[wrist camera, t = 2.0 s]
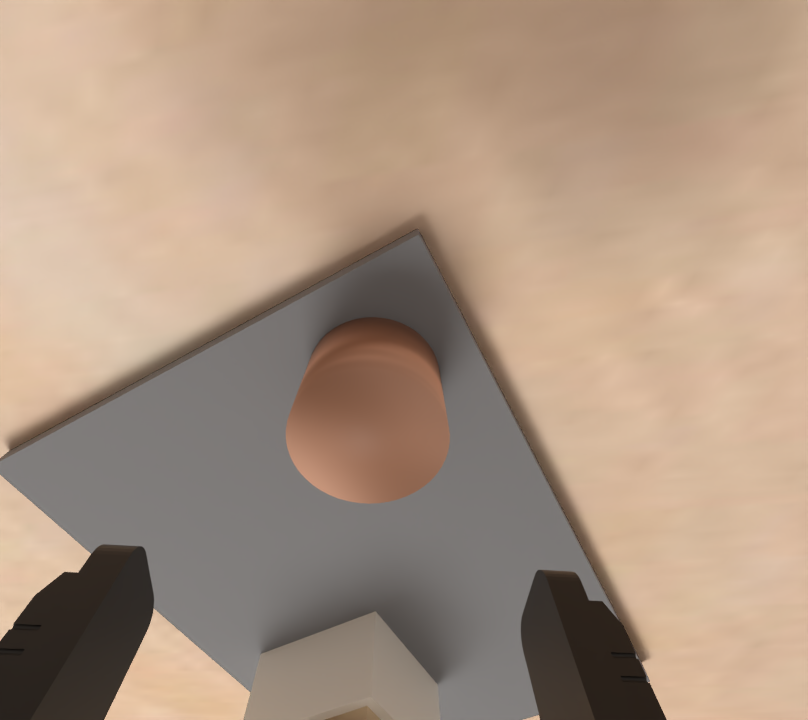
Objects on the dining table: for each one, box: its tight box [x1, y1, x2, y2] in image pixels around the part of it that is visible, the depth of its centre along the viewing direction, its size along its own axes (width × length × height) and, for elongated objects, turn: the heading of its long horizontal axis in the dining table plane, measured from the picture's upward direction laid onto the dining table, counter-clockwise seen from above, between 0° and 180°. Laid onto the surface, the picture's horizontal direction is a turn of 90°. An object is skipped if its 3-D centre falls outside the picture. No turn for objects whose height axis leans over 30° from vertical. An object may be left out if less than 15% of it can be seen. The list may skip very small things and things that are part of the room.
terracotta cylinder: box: [286, 317, 450, 504], centre depth 16 cm, size 5×5×4 cm
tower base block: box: [244, 611, 440, 720], centre depth 24 cm, size 7×7×4 cm
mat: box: [0, 229, 650, 720], centre depth 24 cm, size 20×28×1 cm
